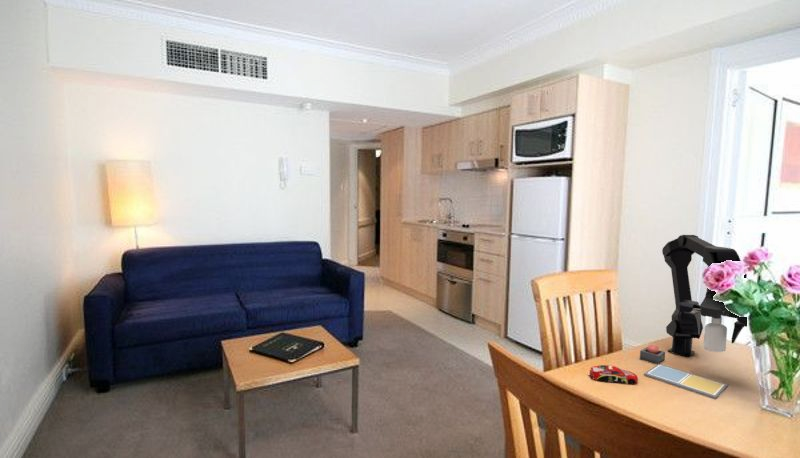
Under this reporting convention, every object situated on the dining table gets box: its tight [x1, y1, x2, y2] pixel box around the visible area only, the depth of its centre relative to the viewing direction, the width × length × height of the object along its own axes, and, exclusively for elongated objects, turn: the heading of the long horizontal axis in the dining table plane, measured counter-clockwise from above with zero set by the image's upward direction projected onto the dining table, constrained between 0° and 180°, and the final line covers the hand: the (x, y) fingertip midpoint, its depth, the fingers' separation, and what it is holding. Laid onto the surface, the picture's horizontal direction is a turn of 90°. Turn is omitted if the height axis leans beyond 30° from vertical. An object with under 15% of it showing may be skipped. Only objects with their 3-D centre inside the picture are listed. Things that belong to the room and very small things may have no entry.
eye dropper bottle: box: [702, 316, 728, 353], centre depth 122 cm, size 4×6×12 cm
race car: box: [589, 364, 639, 385], centre depth 120 cm, size 13×5×4 cm, turn 77°
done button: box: [646, 344, 660, 354], centre depth 134 cm, size 3×3×2 cm
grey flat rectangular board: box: [643, 363, 729, 400], centre depth 119 cm, size 12×18×1 cm, turn 38°
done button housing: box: [639, 346, 666, 365], centre depth 134 cm, size 6×6×3 cm
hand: (714, 338), depth 122 cm, fingers closed on eye dropper bottle, 8 cm apart
